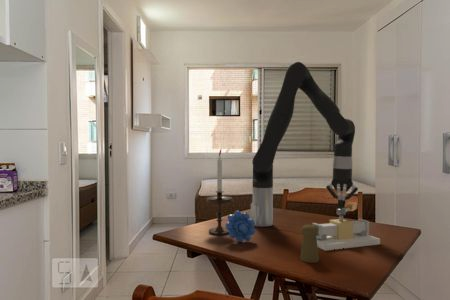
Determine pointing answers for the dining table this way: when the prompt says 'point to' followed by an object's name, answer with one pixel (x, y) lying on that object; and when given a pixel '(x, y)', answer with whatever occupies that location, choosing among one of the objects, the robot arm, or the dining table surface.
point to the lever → (347, 208)
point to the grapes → (240, 226)
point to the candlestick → (219, 201)
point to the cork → (309, 244)
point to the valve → (344, 234)
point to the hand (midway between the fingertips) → (341, 208)
